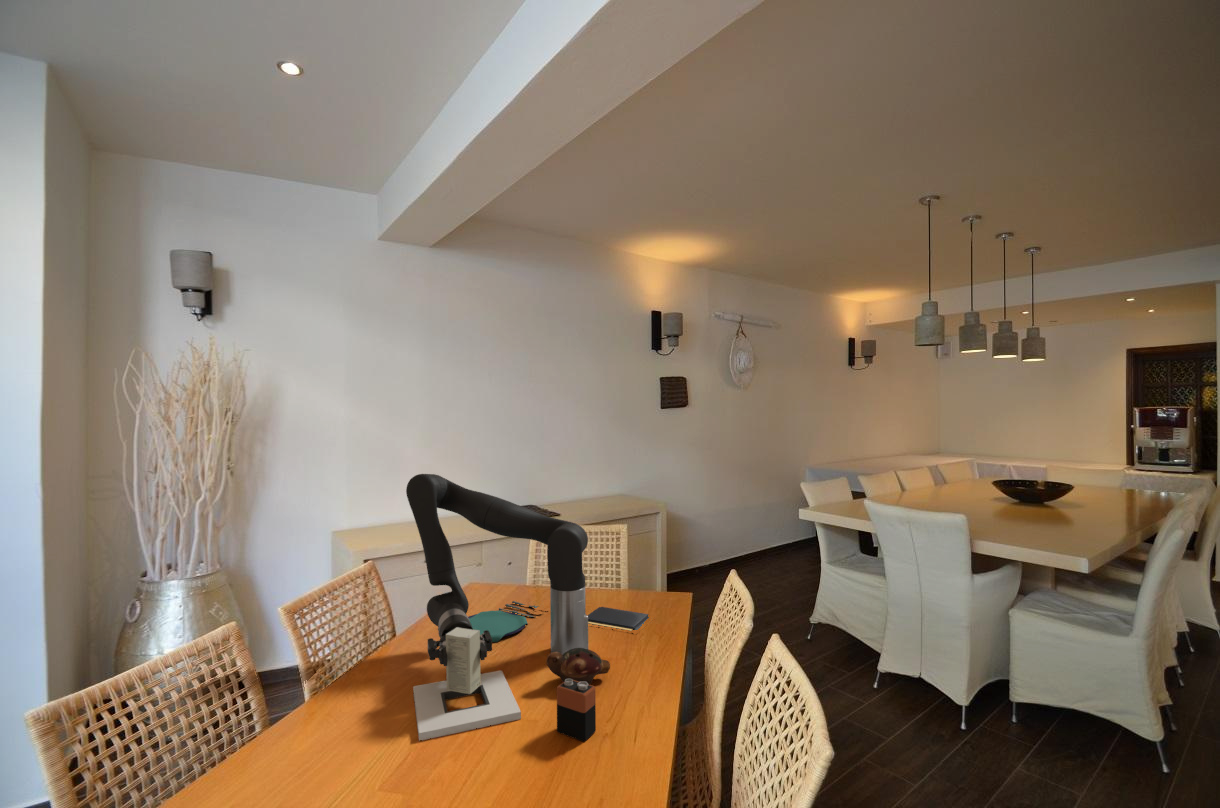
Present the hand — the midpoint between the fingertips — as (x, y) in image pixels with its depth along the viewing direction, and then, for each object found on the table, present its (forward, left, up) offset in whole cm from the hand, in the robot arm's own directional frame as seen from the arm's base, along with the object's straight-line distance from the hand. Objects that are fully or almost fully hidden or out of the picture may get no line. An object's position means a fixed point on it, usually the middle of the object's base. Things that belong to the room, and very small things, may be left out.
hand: (464, 658), depth 120 cm
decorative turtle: (-26, -2, -11) cm, 29 cm away
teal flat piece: (-18, -46, -12) cm, 50 cm away
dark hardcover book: (-49, -34, -12) cm, 61 cm away
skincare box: (0, -2, -7) cm, 8 cm away
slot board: (0, -2, -11) cm, 11 cm away
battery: (-19, +17, -11) cm, 28 cm away
